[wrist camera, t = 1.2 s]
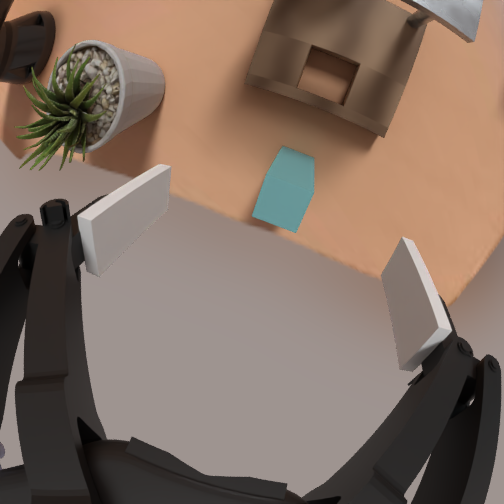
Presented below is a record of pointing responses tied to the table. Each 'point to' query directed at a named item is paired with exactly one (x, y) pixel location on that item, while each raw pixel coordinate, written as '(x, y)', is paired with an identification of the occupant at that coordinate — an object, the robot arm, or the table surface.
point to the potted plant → (92, 99)
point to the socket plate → (340, 54)
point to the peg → (286, 190)
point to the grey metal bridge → (448, 15)
